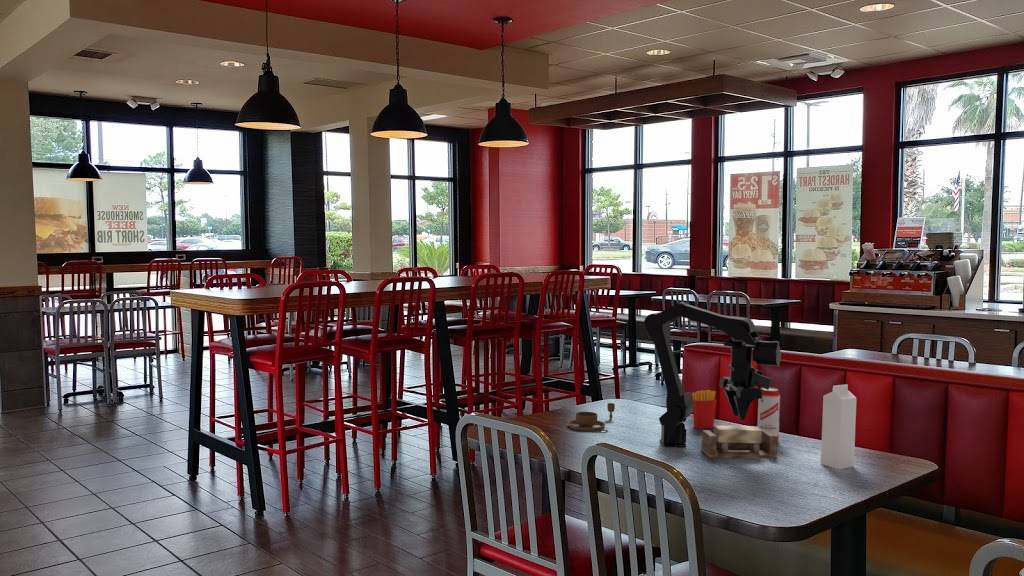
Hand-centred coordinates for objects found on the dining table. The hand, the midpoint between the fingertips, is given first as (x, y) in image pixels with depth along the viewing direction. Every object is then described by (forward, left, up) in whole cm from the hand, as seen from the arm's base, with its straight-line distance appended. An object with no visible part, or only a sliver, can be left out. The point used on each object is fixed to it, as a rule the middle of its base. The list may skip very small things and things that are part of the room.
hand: (739, 417), depth 225 cm
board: (0, 0, -7) cm, 7 cm away
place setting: (-34, +34, -11) cm, 50 cm away
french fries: (0, +33, -11) cm, 35 cm away
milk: (+23, -12, -11) cm, 28 cm away
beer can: (+14, +14, -11) cm, 22 cm away
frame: (0, 0, -10) cm, 10 cm away
